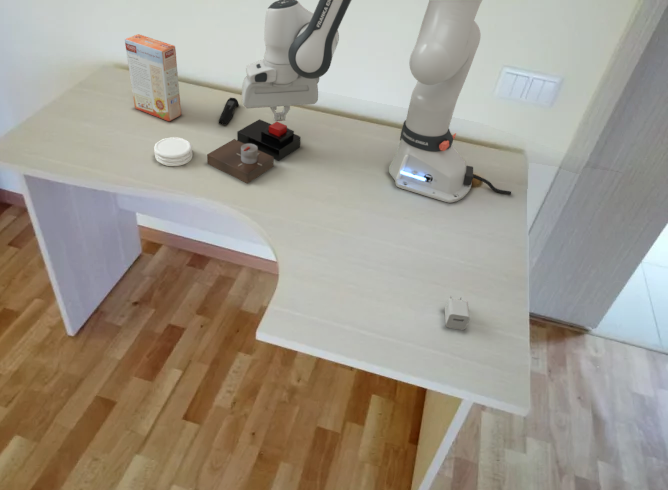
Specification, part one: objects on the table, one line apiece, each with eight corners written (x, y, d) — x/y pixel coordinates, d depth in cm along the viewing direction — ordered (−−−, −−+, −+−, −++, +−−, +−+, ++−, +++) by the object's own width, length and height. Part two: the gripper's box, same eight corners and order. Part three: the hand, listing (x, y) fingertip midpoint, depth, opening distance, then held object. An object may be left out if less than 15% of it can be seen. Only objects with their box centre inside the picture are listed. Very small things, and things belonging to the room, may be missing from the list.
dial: (247, 153, 144) (247, 140, 141) (260, 158, 142) (261, 146, 139) (237, 160, 141) (237, 147, 138) (251, 165, 139) (251, 153, 137)
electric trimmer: (215, 127, 159) (214, 118, 157) (227, 103, 170) (227, 94, 168) (227, 129, 159) (227, 119, 156) (239, 105, 170) (239, 96, 167)
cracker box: (182, 115, 163) (176, 45, 148) (169, 122, 159) (161, 51, 144) (148, 101, 168) (138, 32, 153) (134, 108, 164) (123, 38, 149)
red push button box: (299, 147, 153) (301, 130, 150) (278, 161, 147) (279, 143, 144) (259, 130, 159) (259, 112, 155) (237, 142, 153) (237, 125, 149)
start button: (286, 132, 149) (287, 125, 148) (278, 137, 147) (279, 130, 145) (276, 128, 150) (276, 121, 149) (268, 132, 148) (268, 125, 147)
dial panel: (274, 167, 145) (274, 156, 143) (248, 184, 139) (248, 173, 136) (234, 148, 151) (234, 138, 149) (207, 164, 144) (206, 153, 142)
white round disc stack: (199, 153, 148) (199, 142, 145) (179, 171, 141) (178, 159, 138) (169, 144, 150) (167, 132, 148) (147, 160, 144) (146, 149, 141)
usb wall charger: (444, 327, 107) (450, 313, 104) (443, 302, 112) (448, 289, 109) (464, 330, 107) (470, 316, 104) (462, 305, 112) (468, 292, 109)
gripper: (317, 62, 141) (313, 112, 150) (239, 66, 136) (241, 117, 146) (323, 72, 136) (319, 122, 146) (244, 76, 132) (245, 128, 141)
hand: (279, 120), depth 146 cm, fingers closed
